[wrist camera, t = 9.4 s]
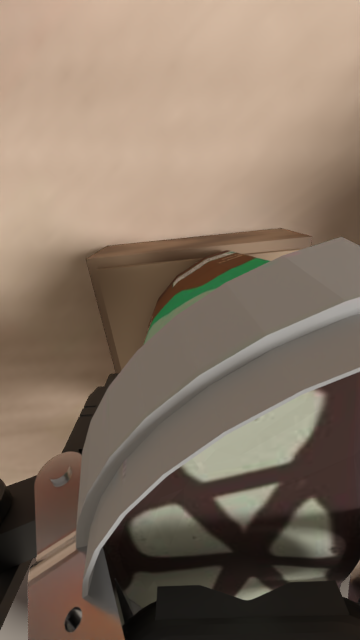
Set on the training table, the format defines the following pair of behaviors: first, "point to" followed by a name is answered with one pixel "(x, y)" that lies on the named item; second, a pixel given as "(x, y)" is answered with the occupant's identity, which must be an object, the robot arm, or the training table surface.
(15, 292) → the training table surface
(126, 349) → the plinth
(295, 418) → the food container
